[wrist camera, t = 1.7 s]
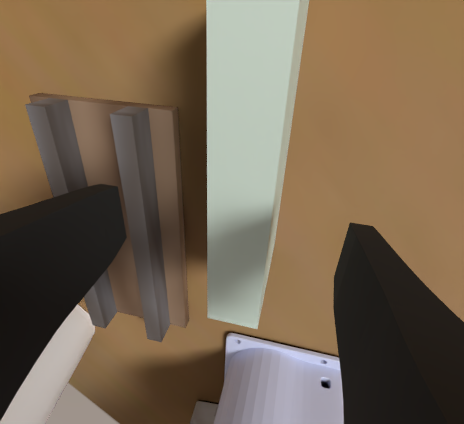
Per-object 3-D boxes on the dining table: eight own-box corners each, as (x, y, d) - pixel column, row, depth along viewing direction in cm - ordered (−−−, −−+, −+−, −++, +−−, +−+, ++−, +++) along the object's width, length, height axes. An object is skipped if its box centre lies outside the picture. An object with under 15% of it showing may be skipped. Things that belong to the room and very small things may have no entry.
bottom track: (177, 107, 17) (157, 119, 15) (189, 320, 27) (177, 346, 25) (39, 93, 19) (2, 102, 17) (96, 298, 28) (77, 321, 26)
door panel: (311, -16, 13) (305, -46, 7) (274, 243, 21) (257, 329, 15) (254, -18, 14) (206, -47, 8) (238, 236, 21) (207, 317, 15)
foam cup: (9, 299, 32) (-147, 438, 21) (54, 270, 28) (-114, 427, 17) (76, 355, 35) (-32, 504, 24) (127, 337, 31) (22, 508, 20)
